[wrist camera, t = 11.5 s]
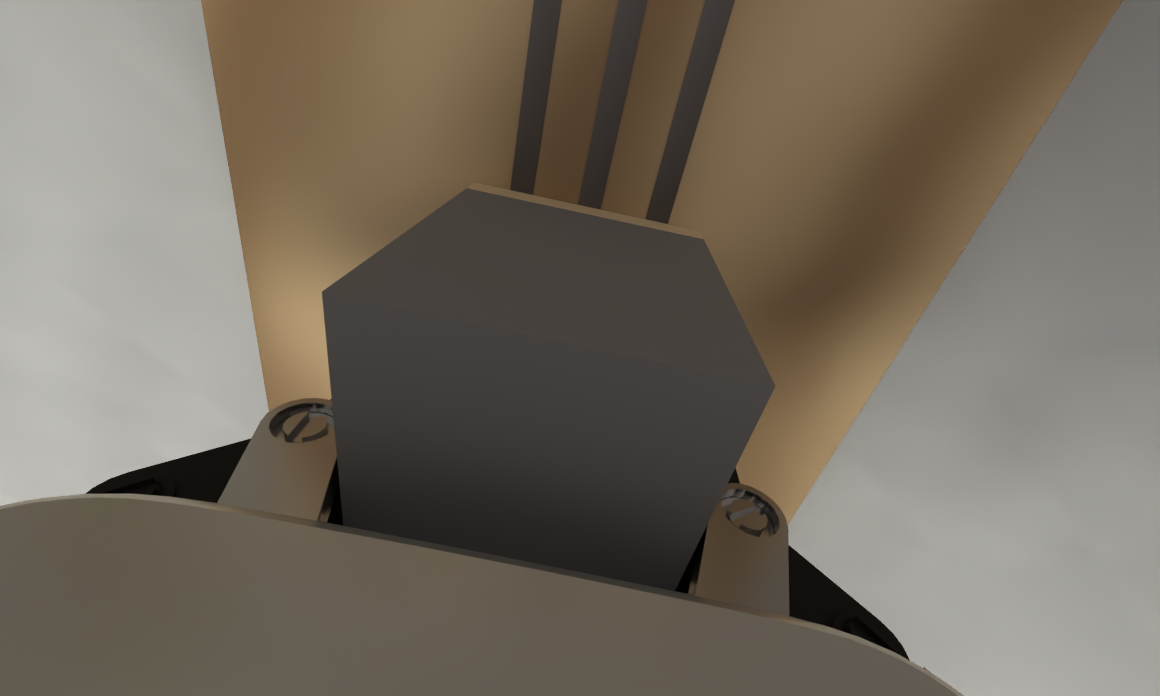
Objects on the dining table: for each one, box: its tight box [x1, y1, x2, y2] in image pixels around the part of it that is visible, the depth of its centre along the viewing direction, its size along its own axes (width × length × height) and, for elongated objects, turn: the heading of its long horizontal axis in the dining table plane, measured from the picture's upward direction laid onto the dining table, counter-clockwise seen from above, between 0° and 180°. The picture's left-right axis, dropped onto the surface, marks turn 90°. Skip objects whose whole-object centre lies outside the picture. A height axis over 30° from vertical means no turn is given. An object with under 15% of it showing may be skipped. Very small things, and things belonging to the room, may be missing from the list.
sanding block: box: [322, 183, 775, 591], centre depth 10 cm, size 5×8×6 cm, turn 169°
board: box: [201, 0, 1122, 525], centre depth 12 cm, size 16×22×2 cm
